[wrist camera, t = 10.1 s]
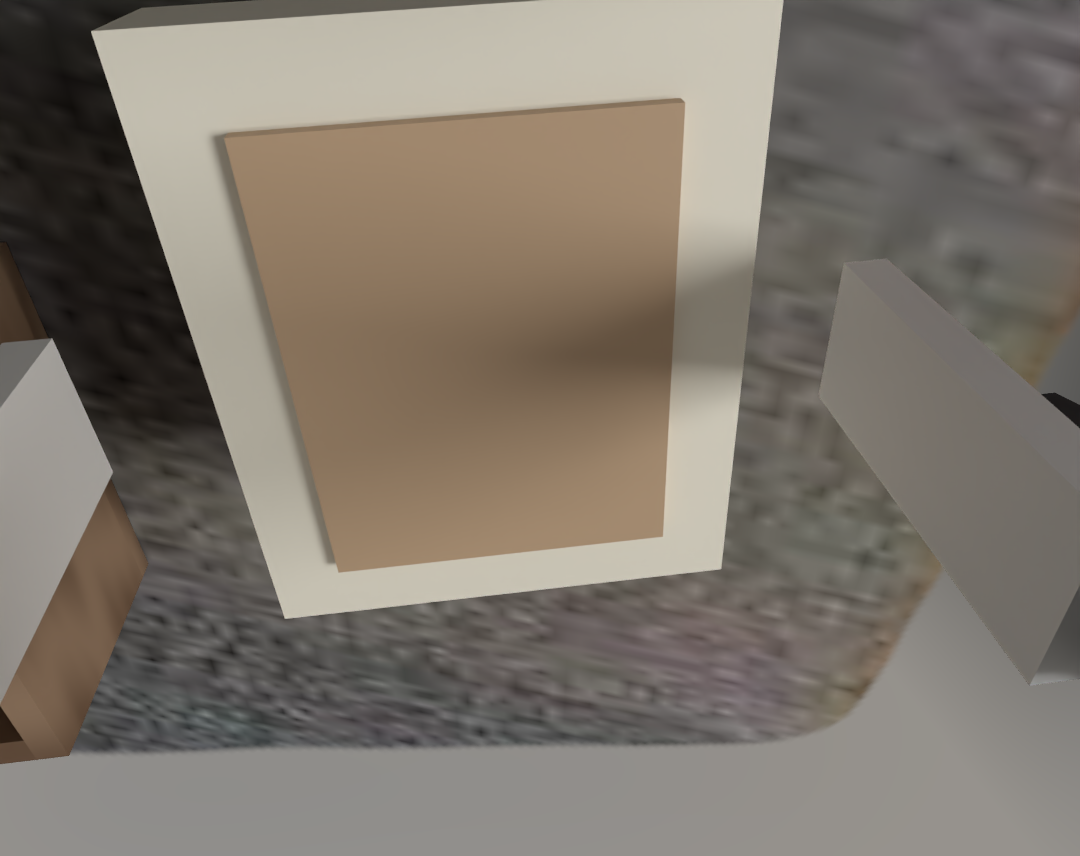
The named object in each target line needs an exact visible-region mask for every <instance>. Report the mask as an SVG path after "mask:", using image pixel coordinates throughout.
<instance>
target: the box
mask: <svg viewBox="0 0 1080 856" xmlns="http://www.w3.org/2000/svg"><path fill="white" fill-rule="evenodd" d="M39 339H49V338H48V336H47V334H46V331H45V329H44V327H43V325H42V322H41V320H40V318H39V316H38V313H37V311H36V309H35V306H34V304H33V302H32V300H31V297H30V295H29V293H28V291H27V288H26V286H25V284H24V282H23V279H22V277H21V275H20V273H19V270H18V268H17V266H16V264H15V261H14V259H13V257H12V255H11V252H10V250H9V248H8V246H7V243H6V242H2V243H0V345H1V344H2V343H7V342H18V341H28V340H39ZM147 566H148V562H147V559H146V557H145V555H144V553H143V550H142V548H141V546H140V544H139V541H138V539H137V537H136V535H135V532H134V530H133V528H132V526H131V523H130V521H129V519H128V516H127V514H126V512H125V510H124V507H123V505H122V503H121V501H120V498H119V496H118V494H117V492H116V489H115V487H114V485H113V483H112V480H111V478H110V480H109V482H108V484H107V486H106V488H105V490H104V492H103V494H102V496H101V498H100V500H99V502H98V504H97V506H96V508H95V510H94V512H93V515H92V517H91V519H90V521H89V523H88V525H87V527H86V529H85V531H84V533H83V535H82V537H81V539H80V541H79V543H78V545H77V547H76V549H75V551H74V554H73V556H72V558H71V560H70V562H69V564H68V566H67V568H66V570H65V572H64V574H63V576H62V578H61V580H60V582H59V584H58V586H57V588H56V591H55V593H54V595H53V597H52V599H51V601H50V603H49V605H48V607H47V609H46V611H45V613H44V615H43V617H42V619H41V621H40V623H39V625H38V627H37V630H36V632H35V634H34V636H33V638H32V640H31V642H30V644H29V646H28V648H27V650H26V652H25V654H24V656H23V658H22V660H21V662H20V664H19V666H18V669H17V671H16V673H15V675H14V677H13V679H12V681H11V683H10V685H9V687H8V689H7V691H6V693H5V695H4V697H3V699H2V701H1V703H0V764H5V763H13V762H21V761H30V760H38V759H46V758H54V757H63V756H69V755H70V752H71V750H72V747H73V745H74V743H75V740H76V738H77V735H78V733H79V730H80V728H81V726H82V723H83V721H84V718H85V716H86V714H87V711H88V709H89V706H90V704H91V701H92V699H93V697H94V694H95V692H96V689H97V687H98V684H99V682H100V680H101V677H102V675H103V672H104V670H105V668H106V665H107V663H108V660H109V658H110V655H111V653H112V651H113V648H114V646H115V643H116V641H117V638H118V636H119V634H120V631H121V629H122V626H123V624H124V621H125V619H126V617H127V614H128V612H129V609H130V607H131V605H132V602H133V600H134V597H135V595H136V592H137V590H138V588H139V585H140V583H141V580H142V578H143V575H144V573H145V571H146V568H147Z"/></svg>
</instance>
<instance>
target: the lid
mask: <svg viewBox="0 0 1080 856" xmlns="http://www.w3.org/2000/svg"><path fill="white" fill-rule="evenodd" d="M782 8H783V0H252V1H237V2H222V3H207V4H192V5H177V6H163V7H148V8H140V9H138V10H136V11H134V12H132V13H129V14H127V15H125V16H123V17H121V18H118V19H116V20H114V21H112V22H110V23H108V24H105V25H103V26H101V27H99V28H97V29H95V30H92V31H91V33H92V36H93V39H94V42H95V45H96V48H97V51H98V54H99V57H100V60H101V63H102V66H103V69H104V72H105V75H106V78H107V81H108V84H109V88H110V91H111V94H112V97H113V100H114V103H115V106H116V109H117V112H118V115H119V118H120V121H121V124H122V127H123V130H124V133H125V136H126V139H127V142H128V145H129V148H130V151H131V154H132V157H133V160H134V163H135V166H136V169H137V172H138V175H139V178H140V181H141V184H142V187H143V190H144V193H145V196H146V199H147V202H148V206H149V209H150V212H151V215H152V218H153V221H154V224H155V227H156V230H157V233H158V236H159V239H160V242H161V245H162V248H163V251H164V254H165V257H166V260H167V263H168V266H169V269H170V272H171V275H172V278H173V281H174V284H175V287H176V290H177V293H178V296H179V299H180V302H181V305H182V308H183V311H184V314H185V317H186V321H187V324H188V327H189V330H190V333H191V336H192V339H193V342H194V345H195V348H196V351H197V354H198V357H199V360H200V363H201V366H202V369H203V372H204V375H205V378H206V381H207V384H208V387H209V390H210V393H211V396H212V399H213V402H214V405H215V408H216V411H217V414H218V417H219V420H220V423H221V426H222V429H223V432H224V435H225V439H226V442H227V445H228V448H229V451H230V454H231V457H232V460H233V463H234V466H235V469H236V472H237V475H238V478H239V481H240V484H241V487H242V490H243V493H244V496H245V499H246V502H247V505H248V508H249V511H250V514H251V517H252V520H253V523H254V526H255V529H256V532H257V535H258V538H259V541H260V544H261V547H262V550H263V554H264V557H265V560H266V563H267V566H268V569H269V572H270V575H271V578H272V581H273V584H274V587H275V590H276V593H277V596H278V599H279V602H280V605H281V608H282V611H283V614H284V617H285V619H288V618H297V617H305V616H314V615H323V614H332V613H340V612H349V611H358V610H367V609H376V608H384V607H393V606H402V605H411V604H419V603H428V602H437V601H446V600H454V599H463V598H472V597H481V596H490V595H498V594H507V593H516V592H525V591H533V590H542V589H551V588H560V587H568V586H577V585H586V584H595V583H604V582H612V581H621V580H630V579H639V578H647V577H656V576H665V575H674V574H682V573H691V572H700V571H709V570H718V569H721V565H722V555H723V546H724V537H725V528H726V519H727V510H728V501H729V492H730V482H731V473H732V464H733V455H734V446H735V437H736V428H737V419H738V409H739V400H740V391H741V382H742V373H743V364H744V355H745V346H746V337H747V327H748V318H749V309H750V300H751V291H752V282H753V273H754V264H755V254H756V245H757V236H758V227H759V218H760V209H761V200H762V191H763V182H764V172H765V163H766V154H767V145H768V136H769V127H770V118H771V109H772V99H773V90H774V81H775V72H776V63H777V54H778V45H779V36H780V26H781V17H782Z"/></svg>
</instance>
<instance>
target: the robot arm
mask: <svg viewBox="0 0 1080 856" xmlns="http://www.w3.org/2000/svg"><path fill="white" fill-rule="evenodd" d="M819 398H820V399H821V400H822V402H823V403H824V405H825V406H826V407H827V409H828V410H829V411H830V413H831V414H832V416H833V417H834V418H835V420H836V421H837V422H838V424H839V425H840V426H841V428H842V429H843V431H844V432H845V433H846V435H847V436H848V437H849V439H850V440H851V442H852V443H853V444H854V446H855V447H856V448H857V450H858V451H859V453H860V454H861V455H862V457H863V458H864V459H865V461H866V462H867V464H868V465H869V466H870V468H871V469H872V470H873V472H874V473H875V475H876V476H877V477H878V479H879V480H880V481H881V483H882V484H883V485H884V487H885V488H886V490H887V491H888V492H889V494H890V495H891V496H892V498H893V499H894V501H895V502H896V503H897V505H898V506H899V507H900V509H901V510H902V512H903V513H904V514H905V516H906V517H907V518H908V520H909V521H910V523H911V524H912V525H913V527H914V528H915V529H916V531H917V532H918V534H919V535H920V536H921V538H922V539H923V540H924V542H925V543H926V544H927V546H928V547H929V549H930V550H931V551H932V553H933V554H934V555H935V557H936V558H937V560H938V561H939V562H940V564H941V565H942V566H943V568H944V569H945V571H946V572H947V573H948V575H949V576H950V577H951V579H952V580H953V581H954V583H955V584H956V586H957V587H958V588H959V590H960V591H961V592H962V594H963V595H964V597H965V598H966V599H967V601H968V602H969V603H970V605H971V606H972V608H973V609H974V610H975V612H976V613H977V614H978V616H979V617H980V618H981V620H982V621H983V623H984V624H985V625H986V627H987V628H988V630H989V631H990V632H991V634H992V635H993V636H994V638H995V639H996V641H997V642H998V643H999V645H1000V646H1001V647H1002V649H1003V650H1004V652H1005V653H1006V654H1007V656H1008V657H1009V658H1010V660H1011V661H1012V662H1013V664H1014V665H1015V666H1016V668H1017V669H1018V671H1019V672H1020V673H1021V675H1022V676H1023V678H1024V679H1025V680H1026V682H1027V683H1028V684H1029V686H1031V685H1039V684H1046V683H1053V682H1061V681H1068V680H1075V679H1080V405H1078V404H1077V403H1075V402H1072V401H1071V400H1069V399H1066V398H1064V397H1062V396H1060V395H1058V394H1056V393H1048V394H1040V393H1039V392H1038V391H1037V390H1036V389H1034V388H1033V387H1032V386H1031V385H1030V384H1029V383H1028V382H1026V381H1025V380H1024V379H1023V378H1022V377H1021V376H1020V375H1018V374H1017V373H1016V372H1015V371H1014V370H1013V369H1012V368H1011V367H1009V366H1008V365H1007V364H1006V363H1005V362H1004V361H1003V360H1001V359H1000V358H999V357H998V356H997V355H996V354H995V353H993V352H992V351H991V350H990V349H989V348H988V347H987V346H985V345H984V344H983V343H982V342H981V341H980V340H979V339H978V338H976V337H975V336H974V335H973V334H972V333H971V332H970V331H968V330H967V329H966V328H965V327H964V326H963V325H962V324H960V323H959V322H958V321H957V320H956V319H955V318H954V317H952V316H951V315H950V314H949V313H948V312H947V311H946V310H945V309H943V308H942V307H941V306H940V305H939V304H938V303H937V302H935V301H934V300H933V299H932V298H931V297H930V296H929V295H927V294H926V293H925V292H924V291H923V290H922V289H921V288H919V287H918V286H917V285H916V284H915V283H914V282H913V281H912V280H910V279H909V278H908V277H907V276H906V275H905V274H904V273H902V272H901V271H900V270H899V269H898V268H897V267H896V266H894V265H893V264H892V263H891V262H890V261H889V260H888V259H879V260H868V261H858V262H847V263H844V265H843V270H842V276H841V281H840V286H839V291H838V297H837V302H836V307H835V312H834V318H833V323H832V328H831V333H830V339H829V344H828V349H827V354H826V360H825V365H824V370H823V375H822V381H821V386H820V391H819ZM112 473H113V471H112V469H111V466H110V464H109V462H108V460H107V458H106V455H105V453H104V451H103V449H102V447H101V444H100V442H99V440H98V438H97V436H96V433H95V431H94V429H93V427H92V425H91V422H90V420H89V418H88V416H87V414H86V411H85V409H84V407H83V405H82V403H81V400H80V398H79V396H78V394H77V392H76V389H75V387H74V385H73V383H72V381H71V378H70V376H69V374H68V372H67V370H66V368H65V365H64V363H63V361H62V359H61V357H60V354H59V352H58V350H57V348H56V346H55V343H54V341H53V339H52V338H49V339H39V340H28V341H18V342H7V343H2V344H1V345H0V703H1V701H2V699H3V697H4V695H5V693H6V691H7V689H8V687H9V685H10V683H11V681H12V679H13V677H14V675H15V673H16V671H17V669H18V666H19V664H20V662H21V660H22V658H23V656H24V654H25V652H26V650H27V648H28V646H29V644H30V642H31V640H32V638H33V636H34V634H35V632H36V630H37V627H38V625H39V623H40V621H41V619H42V617H43V615H44V613H45V611H46V609H47V607H48V605H49V603H50V601H51V599H52V597H53V595H54V593H55V591H56V588H57V586H58V584H59V582H60V580H61V578H62V576H63V574H64V572H65V570H66V568H67V566H68V564H69V562H70V560H71V558H72V556H73V554H74V551H75V549H76V547H77V545H78V543H79V541H80V539H81V537H82V535H83V533H84V531H85V529H86V527H87V525H88V523H89V521H90V519H91V517H92V515H93V512H94V510H95V508H96V506H97V504H98V502H99V500H100V498H101V496H102V494H103V492H104V490H105V488H106V486H107V484H108V482H109V480H110V478H111V476H112Z"/></svg>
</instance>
